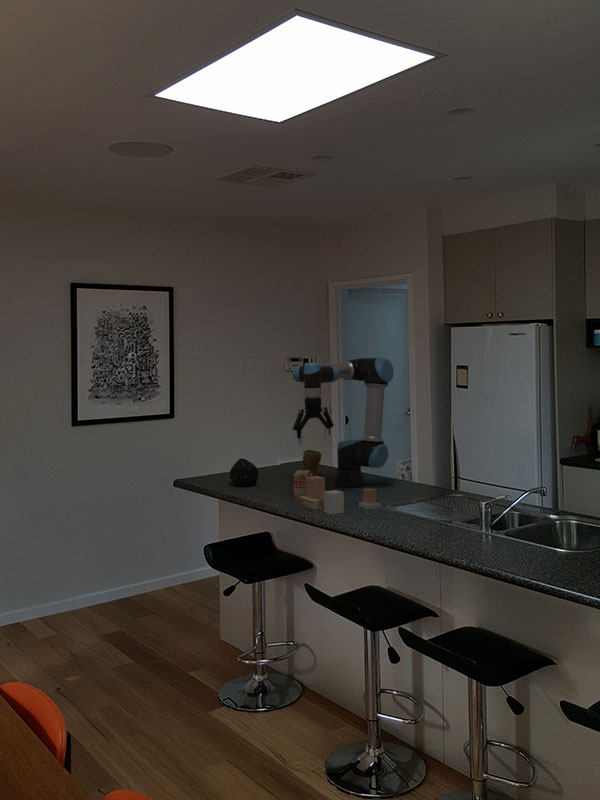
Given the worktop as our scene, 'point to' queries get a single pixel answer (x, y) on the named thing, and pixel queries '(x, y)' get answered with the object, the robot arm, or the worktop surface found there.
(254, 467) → the squash
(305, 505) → the birch base block
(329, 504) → the off-white block
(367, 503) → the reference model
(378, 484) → the worktop surface
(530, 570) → the worktop surface
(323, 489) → the terracotta block
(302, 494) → the stack of blocks
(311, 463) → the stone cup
